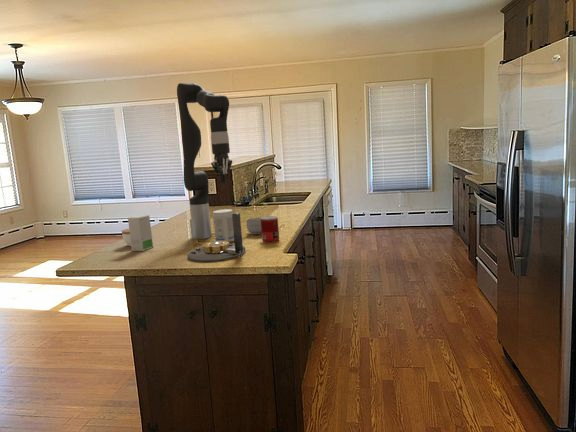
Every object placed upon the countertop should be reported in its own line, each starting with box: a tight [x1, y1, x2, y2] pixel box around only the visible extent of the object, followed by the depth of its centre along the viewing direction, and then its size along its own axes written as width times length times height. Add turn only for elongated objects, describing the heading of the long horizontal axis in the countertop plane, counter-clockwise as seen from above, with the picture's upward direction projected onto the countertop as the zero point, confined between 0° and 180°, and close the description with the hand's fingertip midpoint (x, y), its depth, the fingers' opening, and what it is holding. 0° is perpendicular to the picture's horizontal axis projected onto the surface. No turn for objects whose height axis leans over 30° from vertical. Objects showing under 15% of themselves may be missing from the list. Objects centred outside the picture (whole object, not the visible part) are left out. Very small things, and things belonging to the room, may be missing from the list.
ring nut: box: [202, 212, 244, 254], centre depth 190 cm, size 20×11×16 cm, turn 53°
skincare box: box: [127, 214, 154, 252], centre depth 213 cm, size 8×7×16 cm
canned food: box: [261, 215, 280, 243], centre depth 213 cm, size 8×8×11 cm
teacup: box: [245, 216, 263, 235], centre depth 232 cm, size 14×11×8 cm
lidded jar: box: [121, 228, 131, 247], centre depth 224 cm, size 11×11×9 cm
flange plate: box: [187, 241, 246, 263], centre depth 194 cm, size 24×24×5 cm
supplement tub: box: [212, 208, 234, 243], centre depth 219 cm, size 10×10×15 cm
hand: (223, 182), depth 201 cm, fingers closed
